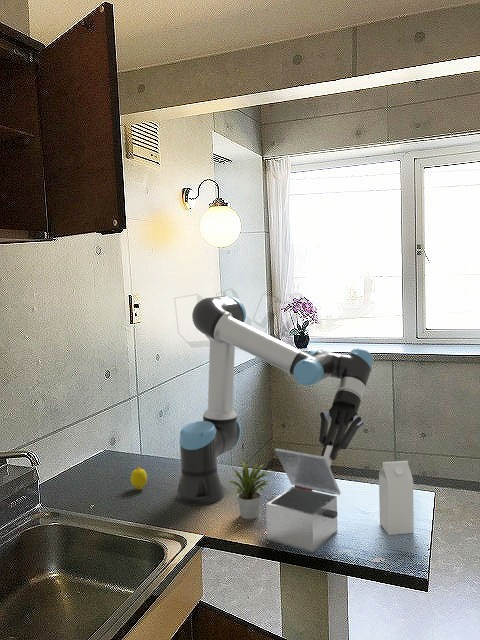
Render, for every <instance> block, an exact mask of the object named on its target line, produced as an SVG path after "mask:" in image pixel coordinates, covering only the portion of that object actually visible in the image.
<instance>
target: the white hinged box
mask: <svg viewBox="0 0 480 640" xmlns="http://www.w3.org/2000/svg"><path fill="white" fill-rule="evenodd" d="M265 509H266V513H265V515H266V540H267V541H271V542H274V543H276V544H281V545H285V546H288V547H291V548H295V549H297V550H298V549H299V550H302V551H304V552H305V551H306V552H308V553H312V554H314V553H315V552H317V550H318V549H320V548H321V547H322V546H323V545H324V544H325V543H327V542H328V541H329V540H330V539H331V538H333V536H334V535H335V534H337V533H338V516H339V515H338V495H337V496H336V495H333V494H329V493H324V492H320V491H315V490H312V491H310V490H305V489H300V488H296V487H294V486H291V487H290V488H288V489H287V490H285V491H283V492H282V493H280V494H279V495H278V496H272V497H270V498H269V499H268V502H267V503H266V504H265Z"/></svg>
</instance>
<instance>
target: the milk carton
mask: <svg viewBox="0 0 480 640" xmlns="http://www.w3.org/2000/svg"><path fill="white" fill-rule="evenodd" d="M378 487H379V488H378V491H379V492H378V494H379V495H378V496H379V498H378V499H379V501H378V502H379V504H378V505H379V524H380V526H381V527H382V528H383V530H384V531H385V532H386V533H387V535H388V536H392V535H395V536H396V535H405V534H406V535H407V534H414V532H415V531H414V530H415V523H414V522H415V520H414V519H415V517H414V516H415V515H414V513H415V512H414V478H413V476H412V472H411V469H410V466H409V461H408V460H399V461H385V462H384V461H383V462H382V467H381V468H380V470H379V472H378Z"/></svg>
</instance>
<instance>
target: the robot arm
mask: <svg viewBox="0 0 480 640" xmlns="http://www.w3.org/2000/svg"><path fill="white" fill-rule="evenodd" d="M191 317H192V323H193V325H194V326H195V328H196V329H197V330H198V331H199V332H200V333H202V334H204V335H205V337H206V339H208V340H209V355H208V356H209V358H208V359H209V361H208V362H209V363H208V391H207V394H208V395H207V409H206V410H205V411H204V412H203V414H202V415H203V416H202V420H200V421H195V422H191V423H188V424H186V425H184V426H183V427H182V428H181V430H180V431H179V432H180V433H179V448H180V449H179V450H180V466H181V468H180V469H181V475H180V479H179V483H178V487H177V490H176V497H177V500H178V501H179V502H180V503H181V504H185V505H189V506H190V505H191V506H205V505H208V504H213V503H216V502H219V501H220V500H222V499H223V497H224V494H225V493H224V486H223V485H222V482H221V479H220V475H219V474H218V459H217V458H218V457H219V456H221V455H223V454H225V453H226V452H229V451H232V449H234V447H236V445H238V443H239V442H240V439H241V437H242V426H241V423H240V422H239V421H238V414H237V412H236V411H234V409H233V408H234V407H233V405H234V386H235V385H234V381H235V380H234V379H235V353H236V351H235V349H236V348H238V349H240V350H242V351H244V352H245V353H248V354H250V355H252V356H254V357H256V358H258V359H259V360H262V361H264V362H265V363H268V364H270V365H271V366H274V367H276V368H278V369H280V370H282V371H284V372H285V373H288V374H290V375H292V376H293V377H294V379H295V380H296V382H297V383H298V384H300V385H302V386H304V387H305V386H306V387H307V386H308V387H309V386H313V385H317V384H319V383H320V382H321V381H323V380H324V379H326V378H335V379H340V381H339V384H338V386H337V388H336V392H335V395H334V398H333V400H332V406H330V407H329V409H328V411H327V412H324V411H321V412H319V416H320V429H319V438H318V439H319V443H320V444H321V446H322V447H323V448H322V451H321V454H320V456H323V457H326V460H327V462H328V464H329V467H330V468H331V465H332V462H333V461H335V460H336V459H337V456H338V452H339V451H340V450H346V449H347V448H348V446H349V444H350V443H351V442H352V439H353V438H354V436H355V435H356V433H357V431H358V430H359V429H360V427H362V426H363V425H364V421H363V419H362V417H361V416H358V411H359V408H360V407H361V402H362V399H363V396H364V394H365V389H366V387H367V383H368V380H369V378H370V375H371V372H372V368H373V363H374V356H373V354H371V352H369V351H368V350H366V349H363V348H353V349H352V350H350V352H349V354H341V353H336V352H332V351H331V352H330V351H327V350H326V351H325V350H322V349H311V350H310V351H309V352H308V353H306V352H305V351H302V350H300V349H298V348H296V347H295V346H292V345H290V344H288V343H286V342H283V340H280V339H278V338H275V337H273V336H271V335H270V334H267V333H266V332H264V331H261V330H260V329H257V328H255V327H254V326H250V325H248V324H247V323H245V321H246V318H247V312H246V308H245V306H244V304H243V302H241V301H240V300H239V299H238V298H237V297H234V296H229V295H221V296H213V297H205V298H203V299H201V300H199V301H198V302H197V303H196V304H195V306H194V307H193V309H192V315H191ZM330 419H331V420H330ZM329 421H330V425H329ZM349 424H350V425H349Z"/></svg>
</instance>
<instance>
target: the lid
mask: <svg viewBox="0 0 480 640" xmlns="http://www.w3.org/2000/svg"><path fill="white" fill-rule="evenodd" d="M274 452H275V454H276V456H277V458H278V460H279V462H280V464H281V466H282V469H283V470H284V473H285V474H286V476H287V479H288V481H289V483H290V484H291V485H292V486H297V487H302V488H306V489H311V490H312V491H315V492H319V493H324V494H329V495H333V496H336V495H337V496H340V495H341V489H340V487H339V486H338V483H337V481H336V479H335V476H334V474H333V472H332V469H331V466H330V467H329V464H328V462H327V460H326V457H323V456H321V455H315V454H310V453H305V452H301V451H299V452H298V451H294V450H290V449H289V450H288V449H283V448H275V449H274Z"/></svg>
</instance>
